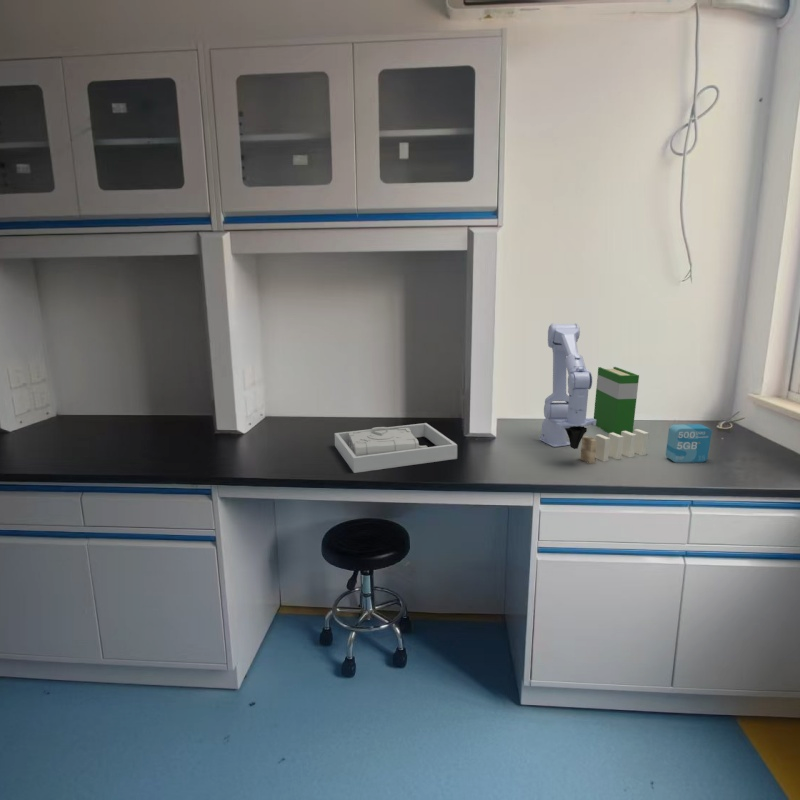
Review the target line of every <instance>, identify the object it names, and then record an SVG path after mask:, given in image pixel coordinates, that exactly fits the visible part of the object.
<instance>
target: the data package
mask: <svg viewBox="0 0 800 800" xmlns="http://www.w3.org/2000/svg"><path fill="white" fill-rule="evenodd" d="M711 439H712V430H711V428H710V427H707V426H705V425H703V424H692V423H691V424H672V425H670V427H669V428H668V435H667V441H666V442H667V443H666V449H665V456H666V458H668V459H669V460H670V461H672V462H673V463H704V462H706V461H707V460H708V458H709V452H710V444H711Z"/></svg>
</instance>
